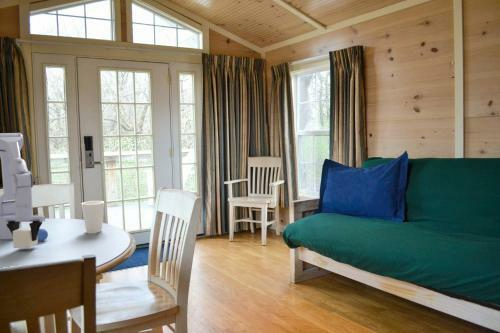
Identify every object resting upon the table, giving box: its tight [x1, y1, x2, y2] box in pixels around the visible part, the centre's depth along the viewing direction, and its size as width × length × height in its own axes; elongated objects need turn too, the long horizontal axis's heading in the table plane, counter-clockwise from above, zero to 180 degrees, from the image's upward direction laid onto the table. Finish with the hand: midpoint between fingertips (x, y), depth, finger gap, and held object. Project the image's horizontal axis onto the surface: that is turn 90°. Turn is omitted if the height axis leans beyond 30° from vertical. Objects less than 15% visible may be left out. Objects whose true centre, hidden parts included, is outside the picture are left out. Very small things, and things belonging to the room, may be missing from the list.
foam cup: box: [80, 200, 105, 234], centre depth 184 cm, size 10×9×13 cm
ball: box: [37, 228, 49, 242], centre depth 169 cm, size 5×5×5 cm
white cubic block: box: [12, 227, 39, 249], centre depth 157 cm, size 6×6×6 cm
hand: (25, 240), depth 157 cm, fingers closed on white cubic block, 6 cm apart
